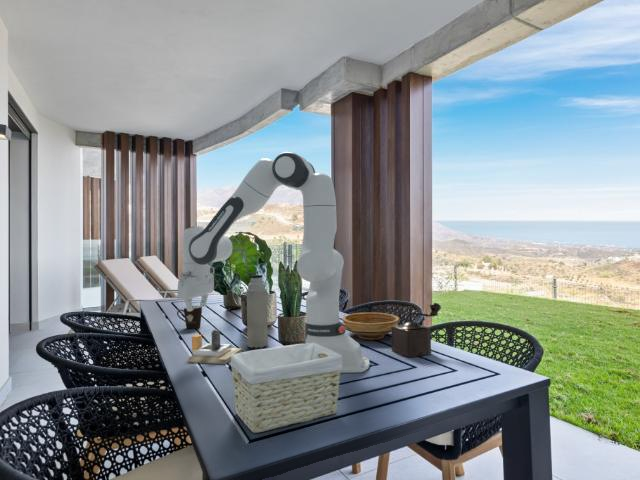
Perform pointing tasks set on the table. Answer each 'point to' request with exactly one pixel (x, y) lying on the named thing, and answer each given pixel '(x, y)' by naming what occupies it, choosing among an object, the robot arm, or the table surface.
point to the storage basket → (285, 385)
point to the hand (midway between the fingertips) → (197, 308)
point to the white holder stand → (207, 348)
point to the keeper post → (215, 346)
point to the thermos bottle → (257, 312)
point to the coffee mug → (192, 317)
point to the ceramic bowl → (370, 324)
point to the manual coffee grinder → (413, 335)
